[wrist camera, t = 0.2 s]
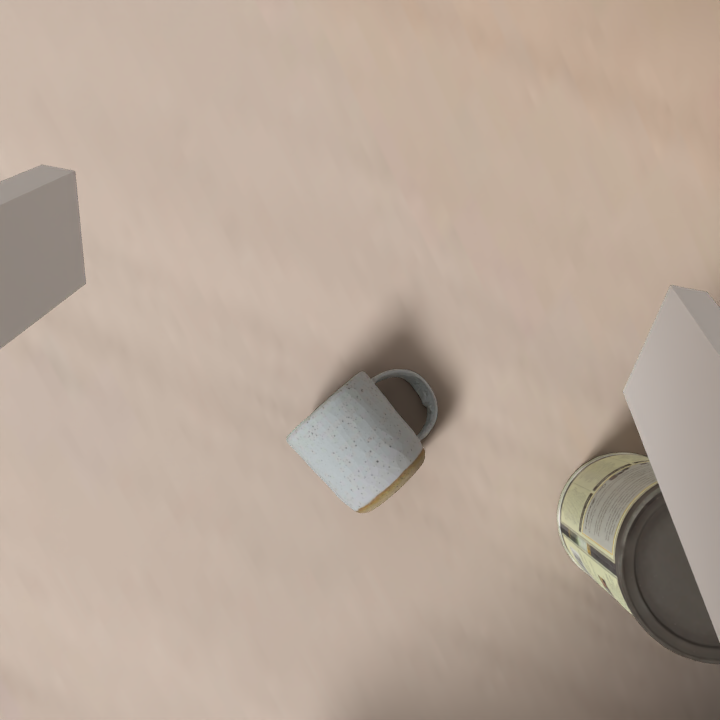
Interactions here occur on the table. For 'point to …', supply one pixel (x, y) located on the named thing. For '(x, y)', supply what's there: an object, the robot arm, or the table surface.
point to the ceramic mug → (364, 440)
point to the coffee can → (636, 551)
